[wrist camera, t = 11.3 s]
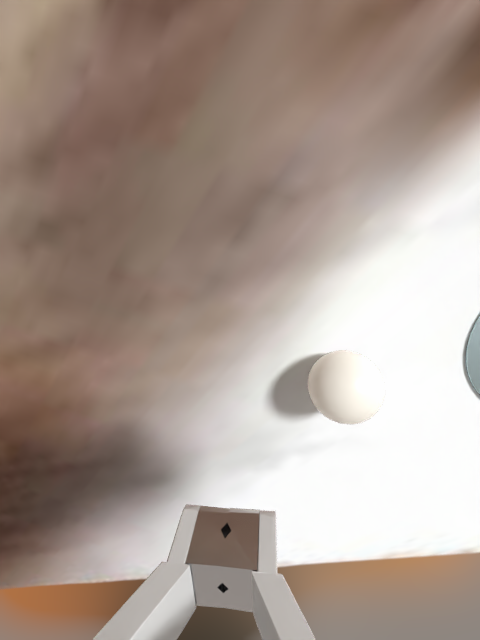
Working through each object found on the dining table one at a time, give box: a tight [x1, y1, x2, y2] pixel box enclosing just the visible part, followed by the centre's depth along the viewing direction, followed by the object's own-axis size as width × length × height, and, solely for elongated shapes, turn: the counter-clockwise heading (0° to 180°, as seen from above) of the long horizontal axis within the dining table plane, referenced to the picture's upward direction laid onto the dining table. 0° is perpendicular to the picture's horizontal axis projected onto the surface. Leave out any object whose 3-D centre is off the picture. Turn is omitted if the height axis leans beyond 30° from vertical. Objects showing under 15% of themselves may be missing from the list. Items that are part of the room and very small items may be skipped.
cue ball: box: [308, 350, 385, 424], centre depth 20 cm, size 6×6×6 cm
